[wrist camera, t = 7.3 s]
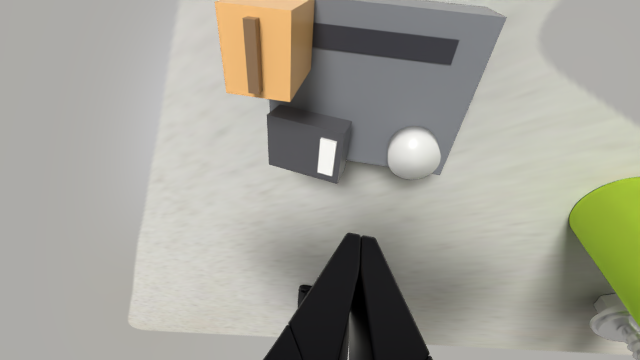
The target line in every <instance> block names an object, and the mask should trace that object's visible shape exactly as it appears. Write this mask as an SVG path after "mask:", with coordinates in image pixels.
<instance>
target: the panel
mask: <svg viewBox="0 0 640 360" xmlns="http://www.w3.org/2000/svg"><path fill="white" fill-rule="evenodd" d="M506 18H507V17H505V16H503V15H501V14H499V13H497V12H495V11H493V10H491V9H489V8H487V7H480V6H471V5H462V4H453V3H444V2H434V1H425V0H315V3H314V21H313V39H312V57H311V70H310V72H309V73H308V75H307V76H306V78H305V79H304V81H303V83H302V84H301V86H300V87H299V89H298V90H297V92H296V94H295V95H294V97H293V98H292V100H291V101H290V102H286V101H279V100H272V99H269V102H270V112H271V111H272V110H273V109H275V108H276V107H277V106H278V105H279V104H280V105H284V106H289V107H293V108H297V109H302V110H306V111H310V112H315V113H319V114H323V115H328V116H332V117H336V118H341V119H345V120H349V121H352V126H351V132H350V138H349V145H348V151H347V157H346V160H349V161H355V162H361V163H368V164H374V165H380V166H386V167H390V169H391V171H392V172H393V173H394V174H395V175H397V176H399V177H401V178H404V179H409V180H415V179H421V178H424V177H426V176H428V175H430V174H436V175H440V174H441V171H442V169H443V167H444V164H445V162H446V159H447V157H448V155H449V152H450V150H451V148H452V145H453V143H454V141H455V138H456V136H457V134H458V131H459V129H460V126H461V124H462V122H463V119H464V117H465V115H466V112H467V110H468V108H469V105H470V103H471V100H472V98H473V96H474V93H475V91H476V89H477V86H478V84H479V82H480V79H481V77H482V75H483V72H484V70H485V67H486V65H487V63H488V60H489V58H490V56H491V53H492V51H493V49H494V46H495V44H496V42H497V39H498V37H499V34H500V32H501V30H502V27H503V25H504V23H505V20H506Z"/></svg>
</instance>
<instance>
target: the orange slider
mask: <svg viewBox="0 0 640 360" xmlns="http://www.w3.org/2000/svg"><path fill="white" fill-rule="evenodd" d="M314 3H315V0H219V1H215V8H216V16H217V23H218V31H219V39H220V46H221V54H222V62H223V70H224V77H225V85H226V93H231V94H238V95H245V96H252V97H258V98H265V99H272V100H279V101H286V102H290V101H291V100H292V98H293V97H294V95H295V94H296V92H297V90H298V89H299V87H300V86H301V84H302V83H303V81H304V79H305V78H306V76H307V75H308V73H309V72H310V70H311V57H312V39H313V21H314Z"/></svg>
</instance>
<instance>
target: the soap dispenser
mask: <svg viewBox="0 0 640 360" xmlns="http://www.w3.org/2000/svg"><path fill="white" fill-rule="evenodd" d="M569 224H570V227H571V229H572V230H573V232H574V233H575V235H576V236H577V237H578V239H579V240H580V242H581V243H582V245H583V246H584V248H585V249H586V250H587V252H588V253H589V255H590V256H591V258H592V259H593V261H594V262H595V263H596V265H597V266H598V268H599V269H600V271H601V272H602V274H603V275H604V276H605V278H606V279H607V281H608V282H609V284H610V285H611V286H612V288H613V289H614V291H615V292H616V294H617V295H618V297H619V298H620V299H621V301H622V302H623V304H624V305H625V307H626V308H627V310H628V311H629V312H630V314H631V315H632V317H633V318H634V320H635V321H636V323H637V324H638V325H639V327H640V177H635V178H628V179H623V180H619V181H616V182H612V183H609V184H607V185H604V186H602V187H600V188H598V189H596V190H594V191H592V192H591V193H589V194H588V195H586V196H585V197H584V198H582V199H581V200H580V201H579V202H578V203H577V204H576V205H575V207H574V208H573V210H572V211H571V214H570V217H569Z"/></svg>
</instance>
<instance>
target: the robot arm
mask: <svg viewBox="0 0 640 360" xmlns="http://www.w3.org/2000/svg"><path fill="white" fill-rule="evenodd" d="M348 346H349V360H433V359H432V357H431V356H428V355H429V351H428V349H427V347H426V344H425V342H424V340H423V338H422V336H421V334H420V332H419V330H418V327H417V325H416V323H415V321H414V319H413V317H412V315H411V312H410V310H409V308H408V306H407V304H406V302H405V300H404V298H403V295H402V293H401V291H400V289H399V287H398V285H397V283H396V281H395V278H394V276H393V274H392V272H391V270H390V268H389V266H388V263H387V261H386V259H385V257H384V255H383V253H382V251H381V249H380V246H379V244H378V242H377V240H376V239H375V238H374V237H369V236H360V235H359V234H353V233H347V234H346V235H345V237H344V238H343V240H342V242H341V243H340V245H339V246H338V248H337V249H336V251H335V252H334V254H333V255H332V257H331V258H330V260H329V261H328V263H327V264H326V266H325V268H324V269H323V271H322V272H321V274H320V275H319V277H318V278H317V280H316V281H315V283H314V284H313V286H312V287H309V286H304V285H302V286H300V287H299V295H298V309H297V310H296V312H295V314H294V315H293V317H292V318H291V320H290V321H289V323H288V325H287V326H286V327H285V329H284V330H283V332H282V333H281V335H280V336H279V338H278V339H277V341H276V342H275V344H274V345H273V346H272V348H271V349H270V351H269V352H268V353H267V355H266V356H265V358H264V359H263V360H347V357H348Z"/></svg>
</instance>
